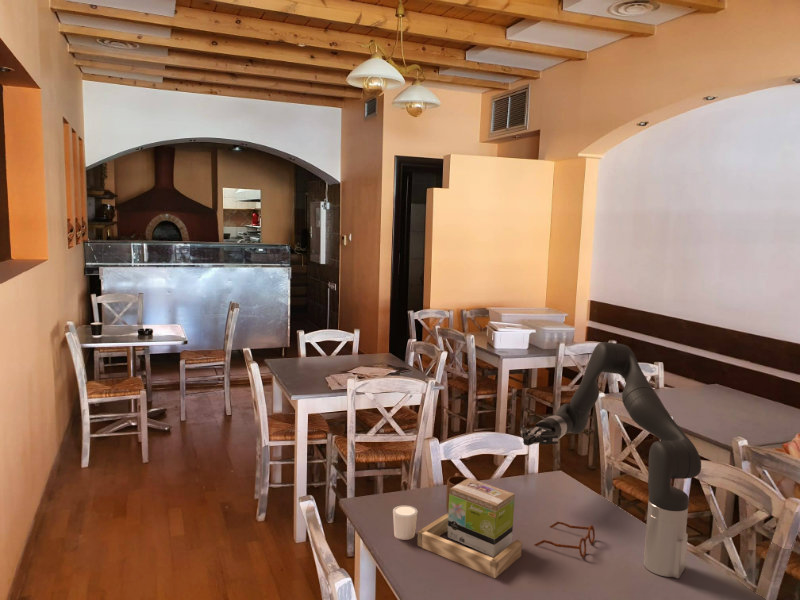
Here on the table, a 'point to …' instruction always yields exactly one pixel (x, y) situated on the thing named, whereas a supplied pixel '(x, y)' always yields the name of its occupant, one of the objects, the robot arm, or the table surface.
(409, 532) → the white cup
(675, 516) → the robot arm
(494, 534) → the tea box
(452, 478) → the mug
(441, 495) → the table surface
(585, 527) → the glasses
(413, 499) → the table surface
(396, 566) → the table surface
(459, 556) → the corral
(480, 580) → the table surface
